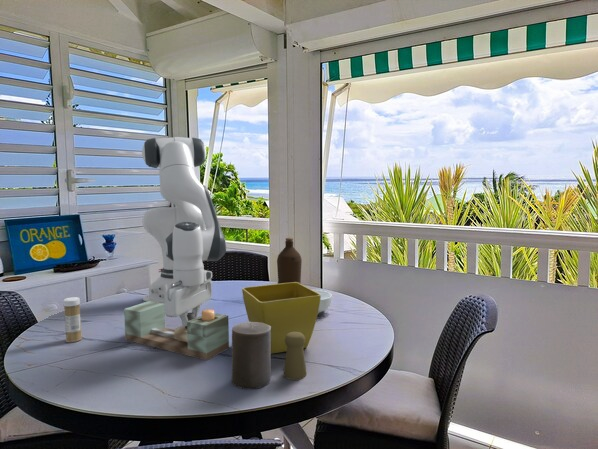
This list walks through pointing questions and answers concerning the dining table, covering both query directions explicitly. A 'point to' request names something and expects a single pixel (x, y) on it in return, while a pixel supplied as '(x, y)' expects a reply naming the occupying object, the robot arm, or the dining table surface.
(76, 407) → the dining table surface
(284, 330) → the flower pot
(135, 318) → the rail bed
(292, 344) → the game pawn
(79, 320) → the sprinkles bottle
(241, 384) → the pillar candle
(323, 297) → the cereal bowl
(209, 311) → the plunger
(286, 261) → the olive oil
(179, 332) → the carriage
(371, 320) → the dining table surface
